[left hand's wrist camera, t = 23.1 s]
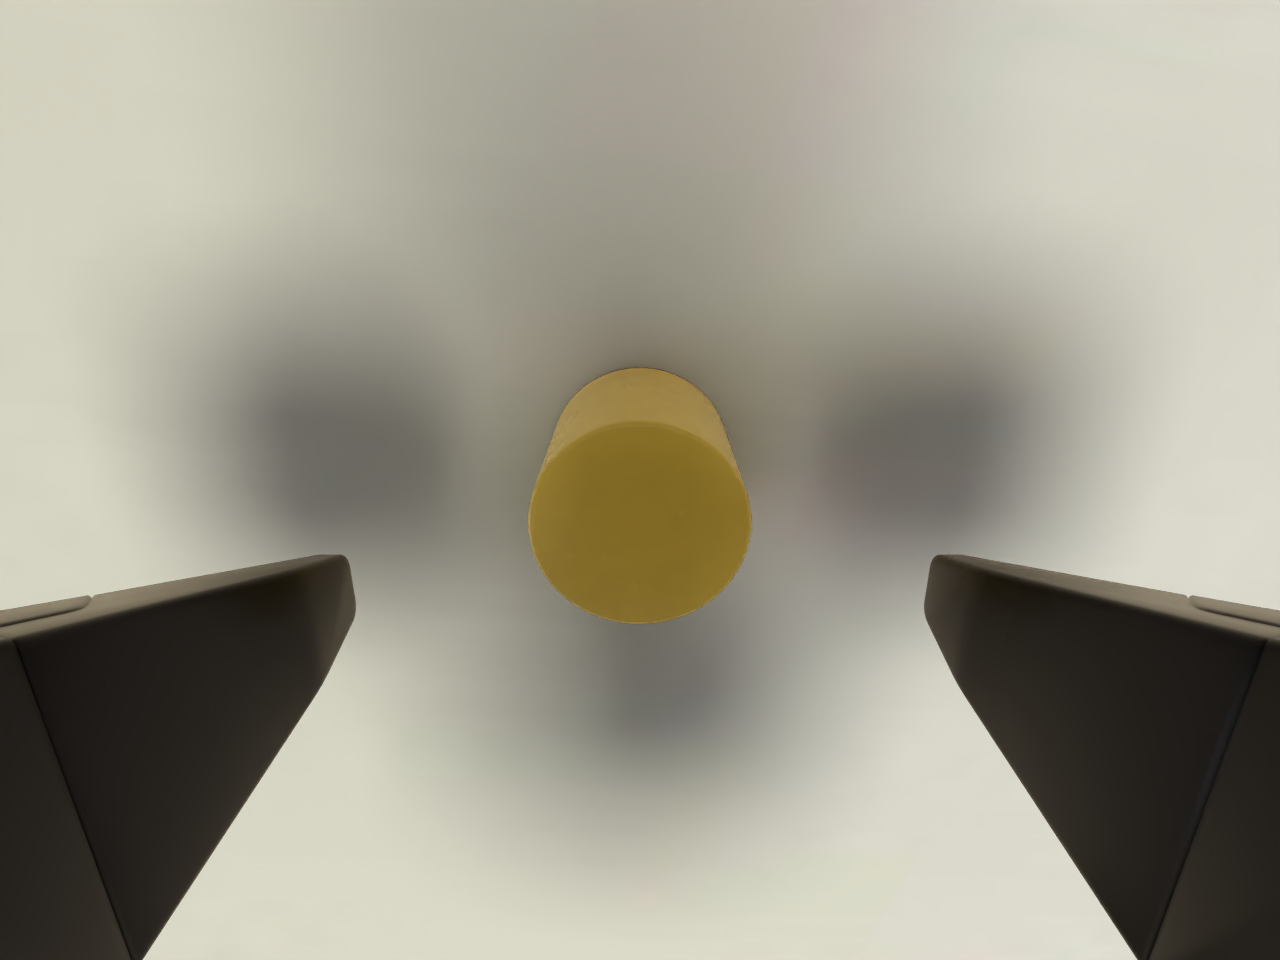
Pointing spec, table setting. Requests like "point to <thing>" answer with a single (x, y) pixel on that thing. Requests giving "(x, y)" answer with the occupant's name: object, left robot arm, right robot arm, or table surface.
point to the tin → (639, 500)
